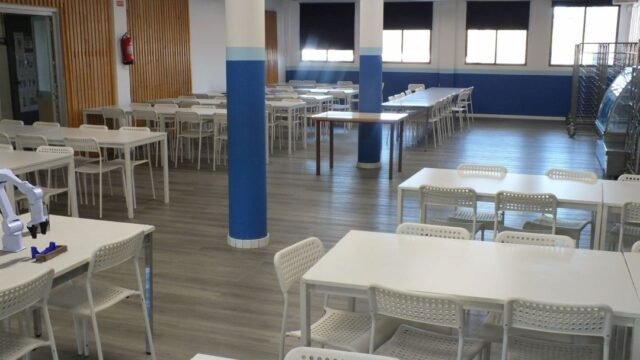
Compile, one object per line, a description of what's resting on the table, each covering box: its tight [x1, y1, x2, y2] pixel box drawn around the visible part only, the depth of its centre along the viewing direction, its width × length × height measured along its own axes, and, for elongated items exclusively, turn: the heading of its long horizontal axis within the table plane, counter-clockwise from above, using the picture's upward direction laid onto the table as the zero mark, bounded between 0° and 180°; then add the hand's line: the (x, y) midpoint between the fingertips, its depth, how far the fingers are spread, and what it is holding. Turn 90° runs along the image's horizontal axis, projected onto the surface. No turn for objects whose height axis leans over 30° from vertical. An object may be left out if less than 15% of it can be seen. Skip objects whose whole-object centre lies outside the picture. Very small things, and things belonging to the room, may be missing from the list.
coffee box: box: [29, 202, 51, 234], centre depth 387 cm, size 9×6×16 cm
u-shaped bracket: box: [35, 244, 68, 262], centre depth 343 cm, size 6×18×3 cm, turn 166°
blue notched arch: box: [30, 241, 57, 260], centre depth 344 cm, size 12×4×6 cm, turn 143°
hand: (39, 236), depth 344 cm, fingers open, 7 cm apart
